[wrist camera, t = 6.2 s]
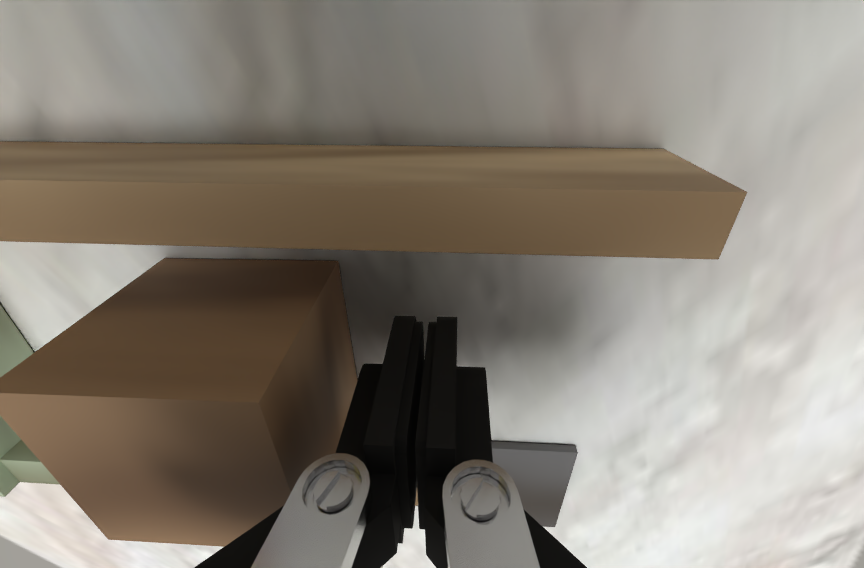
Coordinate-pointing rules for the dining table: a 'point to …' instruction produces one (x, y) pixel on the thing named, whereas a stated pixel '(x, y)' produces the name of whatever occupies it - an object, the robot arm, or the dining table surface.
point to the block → (191, 396)
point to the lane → (362, 222)
